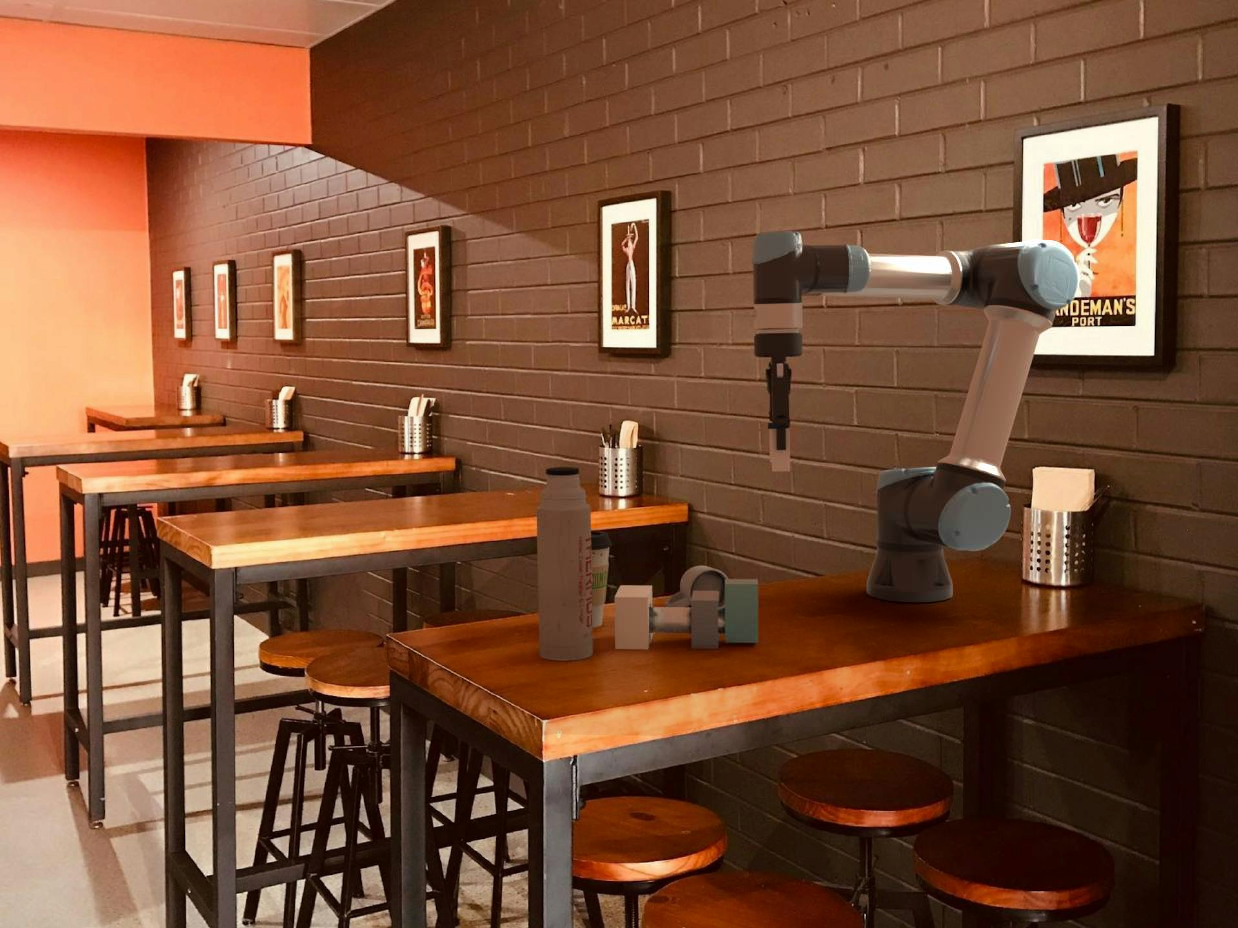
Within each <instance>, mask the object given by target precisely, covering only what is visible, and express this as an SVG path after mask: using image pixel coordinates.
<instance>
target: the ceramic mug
mask: <svg viewBox="0 0 1238 928" xmlns="http://www.w3.org/2000/svg"><path fill="white" fill-rule="evenodd" d="M725 579H729V578H728V576H727V575H726V574H725V572H722V571H721V570H719V569H716V568H714V567H710V566H707V565H696V566H693V567H690V568H689V569H688V570H686V571H685V572H684V573H683V574H682V577H681V579H680V583H679V588H680V590H679V591H677V592H676V593H674V594H673V595H671V596H670V597H668V598H667V599H665V602H664V605H665V607H689V606H691V599H692V594H693V591H719V608H725Z"/></svg>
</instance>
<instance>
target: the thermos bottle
mask: <svg viewBox="0 0 1238 928" xmlns="http://www.w3.org/2000/svg"><path fill="white" fill-rule="evenodd" d="M545 474H546V475H547V477H546V487H545V488H544V489H542V490H541V491H540V495H539V497H540V501H541V502H540V504H539V505H537V506H536V542H537V543H536V544H537V545H536V548H537V549H536V550H537V552H536V553H537V589H538V593H537V594H538V637H539V638H538V640H539V641H538V643H539V645H538V646H539V647H538V648H539V652H538V653H539V656H540V658H542V659H546V660H551V661H558V662H567V661H570V662H571V661H579V660H583V659H587V658H590V657H592V656H593V654H594V650H593V649H594V644H593V643H594V641H593V639H594V637H593V636H594V635H593V634H594V633H593V629H594V628H593V626H592V562H591V530H592V517H591V516H592V513H591V512H592V509H591V508H592V507H591V505H590V504H588V503H587V501H586V500H587V497H588V496H587V495H586V490H585V489H584V488H583V487H581V483H580V479H581V478H580V477H579V475H580V469H579V467H574V466H573V467H570V466H557V467H549V468H545Z"/></svg>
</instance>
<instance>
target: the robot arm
mask: <svg viewBox="0 0 1238 928" xmlns="http://www.w3.org/2000/svg"><path fill="white" fill-rule="evenodd" d="M802 240H803V239H802V234H801V233H800V232H798V231H791V230H778V231H777V230H776V231H775V230H773V231H764V232H760V233H757V234H756V235H755V237H754V239H753V246H752V260H751V264H752V276H753V277H752V279H753V280H752V285H753V304H754V305H753V308H754V310H751V311H750V312H749V316H750V317H751V318H754V319H753V323H754V324H753V325H754V327H753V328H754V329H755V331H758V333H755V335H754V336H753V350H754V351H753V352H754V353H753V354H754V356H755V357H756V358H770V361H769V362H768V368H765V380H766V386H767V388H766V389H767V393H768V395H769V410H768V415H769V416H768V419H769V422H768V423H767V429H768V430H769V432H768V433H769V462H770V463H771V469H772V470H771V472H791V432H790V431H791V429H790V427H791V419H790V418H791V417H790V398H789V397H790V395H791V390H792V389H791V388H792V387H791V385H792V384H791V381H792V376H793V374H792V373H793V372H792V371H793V370H792V368H790V365H789V363H787V358H793V357H800V356H802V355H803V334H802V333H801V332H800V331H799V330H801V329H802V328H803V327H804V326H803V297H839V298H840V297H844V298H845V297H846V298H847V297H848V298H879V299H880V298H883V299H885V298H886V299H918V300H920V299H921V300H928V299H929V300H933V302H934V303H936V304H937V305H938V306H939V305H940V306H957V307H964V308H970V309H975V310H976V309H978V310H983V314H984V315H985V316H986V318H987V320H988V326H987V329H986V332H985V336H984V338H983V341H982V346H981V349H980V352H979V356H978V359H977V362H976V366H975V369H974V372H973V376H972V378H971V382H970V385H969V388H968V392H967V395H966V399H965V402H964V404H963V405H964V406H963V410H962V412H961V416H960V420H959V423H958V425H957V429H956V432H955V436H954V439H953V442H952V446H951V449H950V451H949V452H950V453H949V454H947V456H945V457H943V458H942V459H939V460H938V461H937V464H936V466H929V467H928V466H927V467H925V466H924V467H912V468H896V469H886V470H883V471H881V472H880V473H879V474H878V476H877V477H878V478H877V485H876V490H875V492H876V493H875V494H876V511H877V512H876V553H875V555H874V559H873V562H872V566H871V568H870V571H869V573H868V574H869V575H868V577H867V580H866V594H867V595H868V596H870V597H872V598H875V599H878V600H885V601H889V602H890V601H891V602H898V603H899V602H900V603H932V602H940V601H945V600H948V599H951V598H952V597H953V596H954V594H953V593H954V591H953V589H954V587H953V586H954V585H953V580H952V577H951V574H950V572H949V568H948V565H947V562H946V558H945V555H944V546H945V547H948V548H950V549H953V550H956V551H970V552H977V551H983V550H985V549H987V548H989V547H990V546H993V545H994V544H995V543H997V542H998V541H999V540H1000V539H1001V538H1002V536H1003V535H1004V533H1005V532H1006V530H1007V529H1008V526H1009V523H1010V519H1011V512H1012V511H1011V510H1012V508H1011V504H1010V503H1009V496H1008V495H1007V493H1006V492H1005V491H1004V488H1005V485H1006V482H1007V479H1006V477H1005V476H1004V474H1003V472H1002V469H1001V466H1002V463H1003V460H1004V459H1003V458H1004V456H1005V452H1006V448H1007V445H1008V441H1009V439H1010V436H1011V432H1012V429H1013V426H1014V423H1015V419H1016V415H1017V412H1018V408H1019V406H1020V402H1021V399H1022V395H1023V392H1024V388H1025V385H1026V382H1027V379H1028V375H1029V371H1030V367H1031V365H1032V361H1033V359H1034V355H1035V353H1036V352H1035V351H1036V348H1037V345H1038V341H1039V338H1040V336H1041V334H1042V333H1044V332H1046V331H1048V330H1049V329H1051V328H1052V326H1053V324H1054V320H1055V317H1056V314H1057V311H1059V310H1061V309H1063V308H1065V307H1067V306H1068V305H1069V304H1071V303H1072V302H1073V300H1075V298H1076V296H1077V295H1078V290H1079V286H1080V271H1079V267H1078V264H1077V263H1076V262H1075V259H1074V256H1073V253H1071V251H1070V250H1069V249H1068V248H1067V247H1066V246H1065V245H1063V244H1061V242H1058V241H1054V240H1050V239H1047V240H1046V239H1045V240H1044V239H1030V240H1028V241H1020V242H1019V241H1018V242H1013V243H1001V244H1000V243H999V244H992V245H987V246H981V247H976V248H975V247H974V248H970V249H963V250H961V249H960V250H942V251H940V252H938V253H937V254H936V255H916V254H915V255H914V254H891V253H888V254H887V253H885V254H884V253H868V251H867V250H866V249H865V248H864V247H862V246H860V245H854V244H853V245H851V244H848V243H846V244H845V243H844V244H819V245H812V244H811V245H808V244H803V241H802ZM789 394H790V395H789Z"/></svg>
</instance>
